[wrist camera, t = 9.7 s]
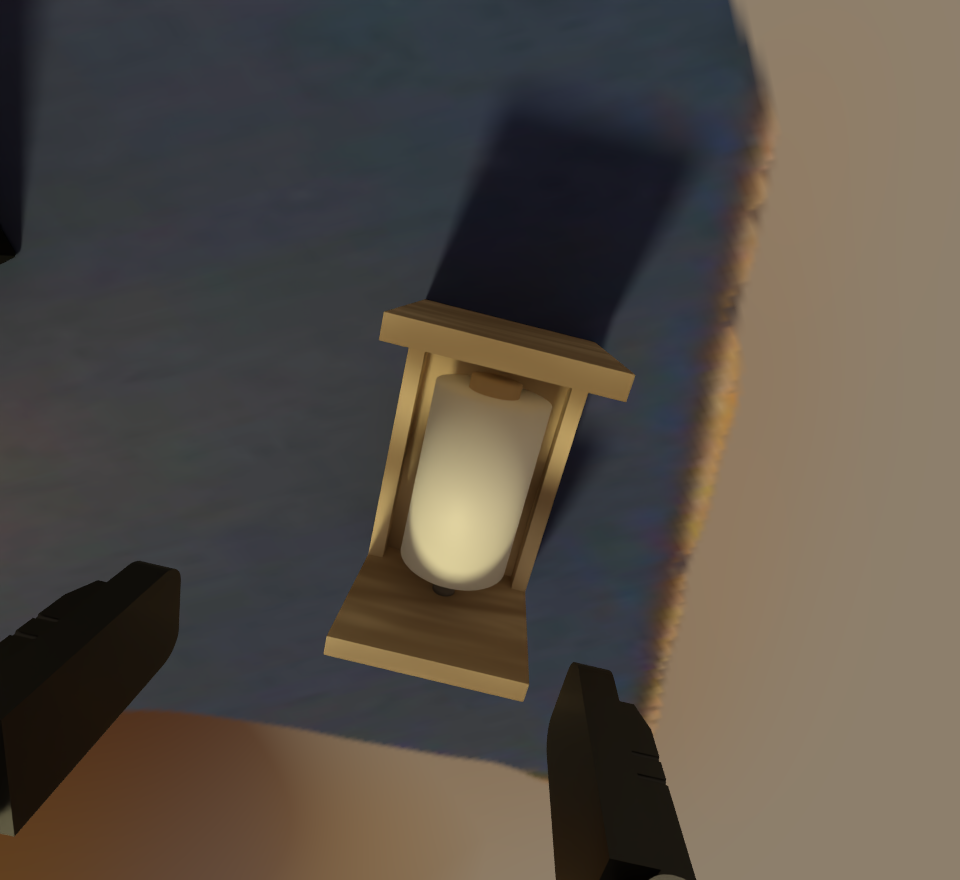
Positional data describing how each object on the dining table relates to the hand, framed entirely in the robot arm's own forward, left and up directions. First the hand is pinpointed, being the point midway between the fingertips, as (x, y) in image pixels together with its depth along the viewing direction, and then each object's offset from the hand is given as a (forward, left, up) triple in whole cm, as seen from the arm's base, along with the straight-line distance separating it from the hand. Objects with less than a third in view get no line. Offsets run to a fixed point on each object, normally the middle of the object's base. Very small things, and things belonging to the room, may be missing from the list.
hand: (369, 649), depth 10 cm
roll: (+2, +2, -18) cm, 18 cm away
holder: (+2, +2, -19) cm, 19 cm away
